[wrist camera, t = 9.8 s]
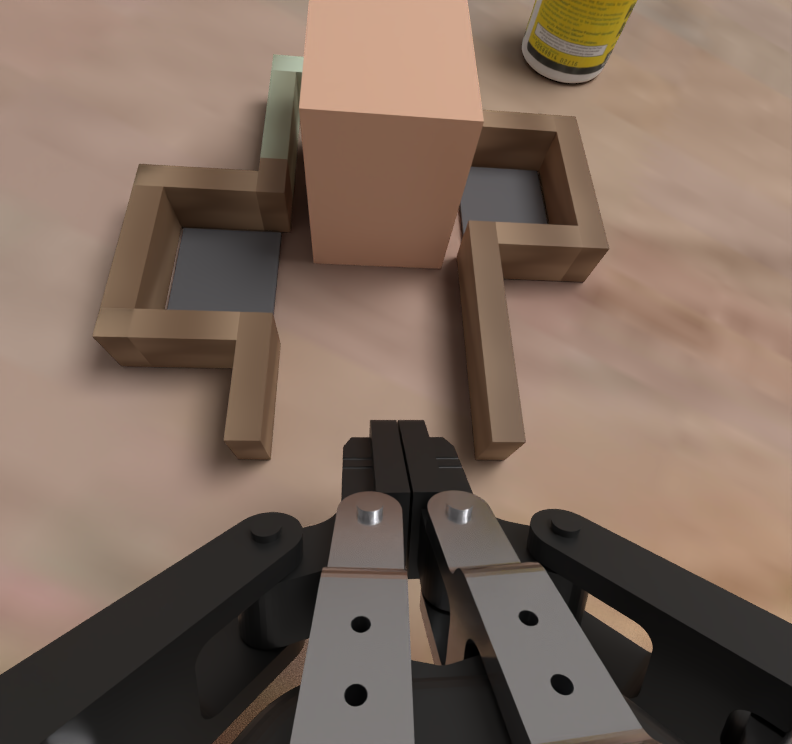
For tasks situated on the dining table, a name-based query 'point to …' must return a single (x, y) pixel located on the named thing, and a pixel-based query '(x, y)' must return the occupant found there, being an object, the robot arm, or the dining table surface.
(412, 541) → the robot arm
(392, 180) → the brick
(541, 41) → the supplement bottle
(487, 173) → the mats
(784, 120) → the dining table surface
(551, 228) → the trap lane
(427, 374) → the dining table surface
